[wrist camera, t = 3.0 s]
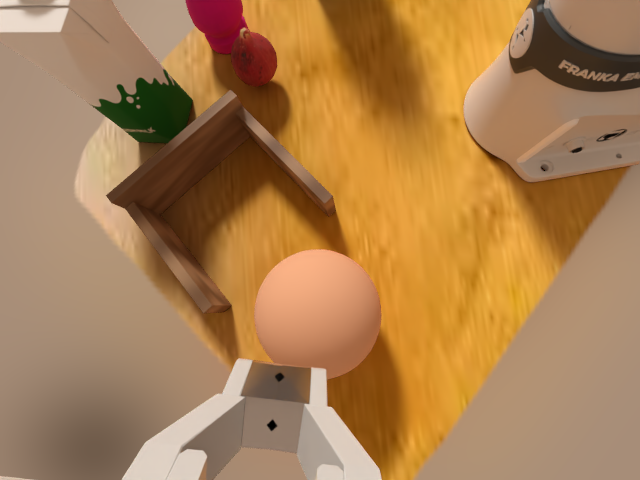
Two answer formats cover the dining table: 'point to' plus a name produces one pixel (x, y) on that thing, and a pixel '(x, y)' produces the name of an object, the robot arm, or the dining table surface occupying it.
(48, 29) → the milk carton
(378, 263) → the dining table surface
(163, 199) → the corral
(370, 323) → the rubber ball
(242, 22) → the pepper mill
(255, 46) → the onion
